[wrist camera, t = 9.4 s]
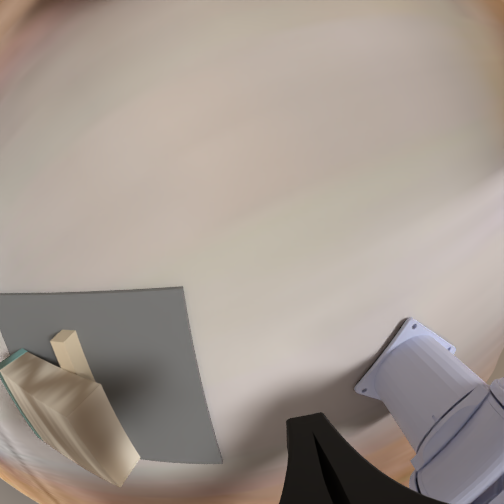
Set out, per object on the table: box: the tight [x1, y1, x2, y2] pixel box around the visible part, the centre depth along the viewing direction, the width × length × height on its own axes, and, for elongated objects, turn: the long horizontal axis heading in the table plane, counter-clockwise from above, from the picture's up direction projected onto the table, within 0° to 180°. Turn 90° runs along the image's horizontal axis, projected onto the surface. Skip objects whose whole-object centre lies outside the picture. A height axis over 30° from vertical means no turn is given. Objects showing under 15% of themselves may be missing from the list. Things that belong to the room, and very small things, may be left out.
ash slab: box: [0, 348, 141, 487], centre depth 15 cm, size 4×9×12 cm
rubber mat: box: [0, 287, 223, 464], centre depth 18 cm, size 21×20×2 cm
